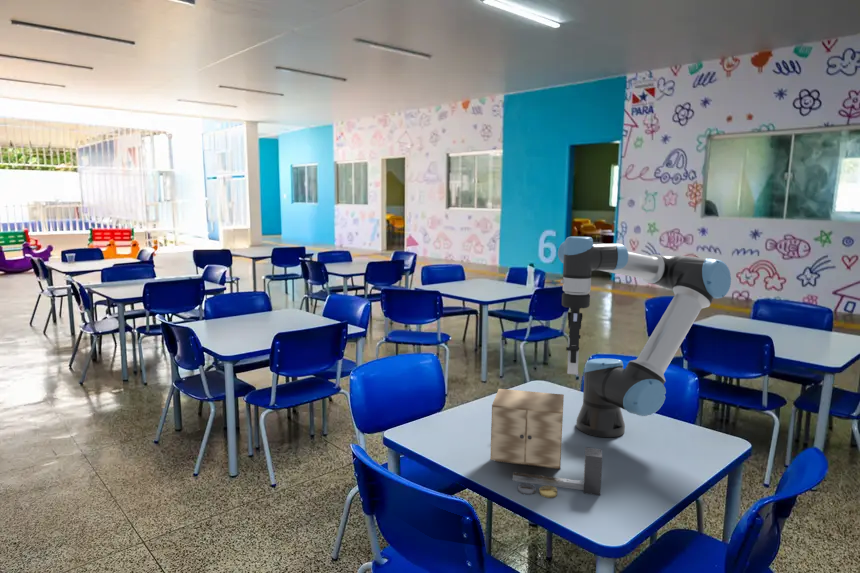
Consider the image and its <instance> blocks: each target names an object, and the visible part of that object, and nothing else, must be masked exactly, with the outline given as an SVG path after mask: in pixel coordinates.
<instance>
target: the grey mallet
mask: <svg viewBox="0 0 860 573" xmlns="http://www.w3.org/2000/svg"><path fill="white" fill-rule="evenodd" d="M583 465H584V466H583V467H584V468H583V480H580V479H579V480H578V479H577V480H576V479H570V478H564V477H557V476H546V475H538V474H531V473H524V472H516V471H513V473H512V482H518V483H529V484H532V485H539V486H540V485H541V486H546V485H549V486H554V487H556V488H564V489H571V490H579V491H583V494H586V495H594V496H601V488H602V470H603V452H602V449H601V448H593V447H585V448H584V464H583Z"/></svg>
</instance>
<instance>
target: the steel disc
mask: <svg viewBox="0 0 860 573" xmlns="http://www.w3.org/2000/svg"><path fill="white" fill-rule="evenodd" d="M517 491H518V493H520V494H522V495H524V494H525V496H532V495H534V494H536V492H537V489H536V486H535V484H532V483H525V482H520V484H518V485H517Z"/></svg>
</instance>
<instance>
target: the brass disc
mask: <svg viewBox="0 0 860 573" xmlns="http://www.w3.org/2000/svg"><path fill="white" fill-rule="evenodd" d="M538 492H539V495H541V497H543V498H547V499H553V498H556V497H557V496H558V487H555V486H549V485H541V486H540V487H539V491H538Z"/></svg>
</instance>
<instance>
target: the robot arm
mask: <svg viewBox="0 0 860 573" xmlns="http://www.w3.org/2000/svg"><path fill="white" fill-rule="evenodd" d="M557 256H558V259H559V261H560V262H561V263H562V264H563V268H562V269H563V270H562V277H563V278H562V279H561V280H560V284H562V291H563V292H562V293H561V306H562V307H563V308H568V309H569V310H570V312H569V311H568V312H567V323H568V324H567V329H569V331H568V334H569V335H568V337H569V338H568V346H567V347H565V351H567V371H566V372H567V373H566V374H568V375H578V374H579V357H580V356H579V355H580V353H579V352H580V339H581V338H582V337H581V334H580V330H581V329H582V321H583V312H580V310H581V309H588V308H589V307H590V303H591V295H590V292H591V291H592V290H591V288H592V272H593V271H594V272H595V271H601V272H607V273H612V274H617V275H622V276H627V277H630V278H631V277H632V278H637V279H638V278H639V279H642V280H643V281H644V282H645V283H648V284H653V285H656V286H659V287H662V288H666V289H668V290H670V291H671V290H672V291H673V295H674V296H673V298H672V300H671V301H670V303H668V306H667V308H666V310H665V311H664V313H663V314H662V316H661V318H660V320H659V321H658V323H657V324H656V326H655V328H654V330H653V331H652V333H651V335H650V336H649V338H648V340H647V341H646V343H645V345H644V346H643V348H642V349H641V351H640V353H639V354H638V357H637V358H636V359H633V360H629V361H628V362H627V365H626V366H625V368H624V363H623V361H622V360H621V359H618V358H617V359H616V358H604V357H603V358H592V359H589V360H587V361H586V363H585V366H584V371H583V396H582V399H583V400H582V404H581V405H582V406H581V407H580V410H579V413H578V414H577V418H576V422H575V423H576V424H575V425H576V428H577V430H578V431H579V432H580V431H581V432H582V433H584V434H586V435H589V436H594V437H599V438H617V437H620V436H622V435H624V434H625V429H626V428H625V427H626V424H625V420H624V417H623V413H622V410H621V409H623V410H624V411H627V412H628V413H630V414H633V415H637V416H640V417H647V416H652V415H653V414H655V413H656V412H658V411H659V410H660V409H661V407H663V404H665V400H666V394H667V389H666V387H665V383H666V377H665V375H664V374H665V373H666V371H667V369H668V367H669V365H670V363H671V361H672V360H673V359H674V357H675V355H676V354H677V352H678V351H679V348H680V347H681V345H682V343H683V342H684V340H685V338H686V336H687V334H688V333H689V331H690V329H691V327H692V326H693V324H694V322H695V321H696V320H697V317H698V316H699V314H700V312H701V310H702V309H705V308H709V307H710V306H711V305H712V303H713V300H714V299H722V298H724V297H726V296H727V294H728V293H729V291H730V289H731V284H732V277H731V271H730V268H729V267H728V265H727V264H726V263H725V262H724V261H723V260H720V259H714V258H711V257H705V258H704V257H695V256H687V255H661V254H658V253H656V254H655V253H653V254H649V255H646V254H640V253H635V252H632V251H628V248H627V247H626V246H625V245H623V243H622V244H621V243H616V242H615V243H614V242H612V243H606V242H605V243H603V242H595V241H594V239H593V238H592V237H591V236H568V237H566V239H565V240H564V241H562V243H561V244H560V245H559V247H558V250H557Z"/></svg>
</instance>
